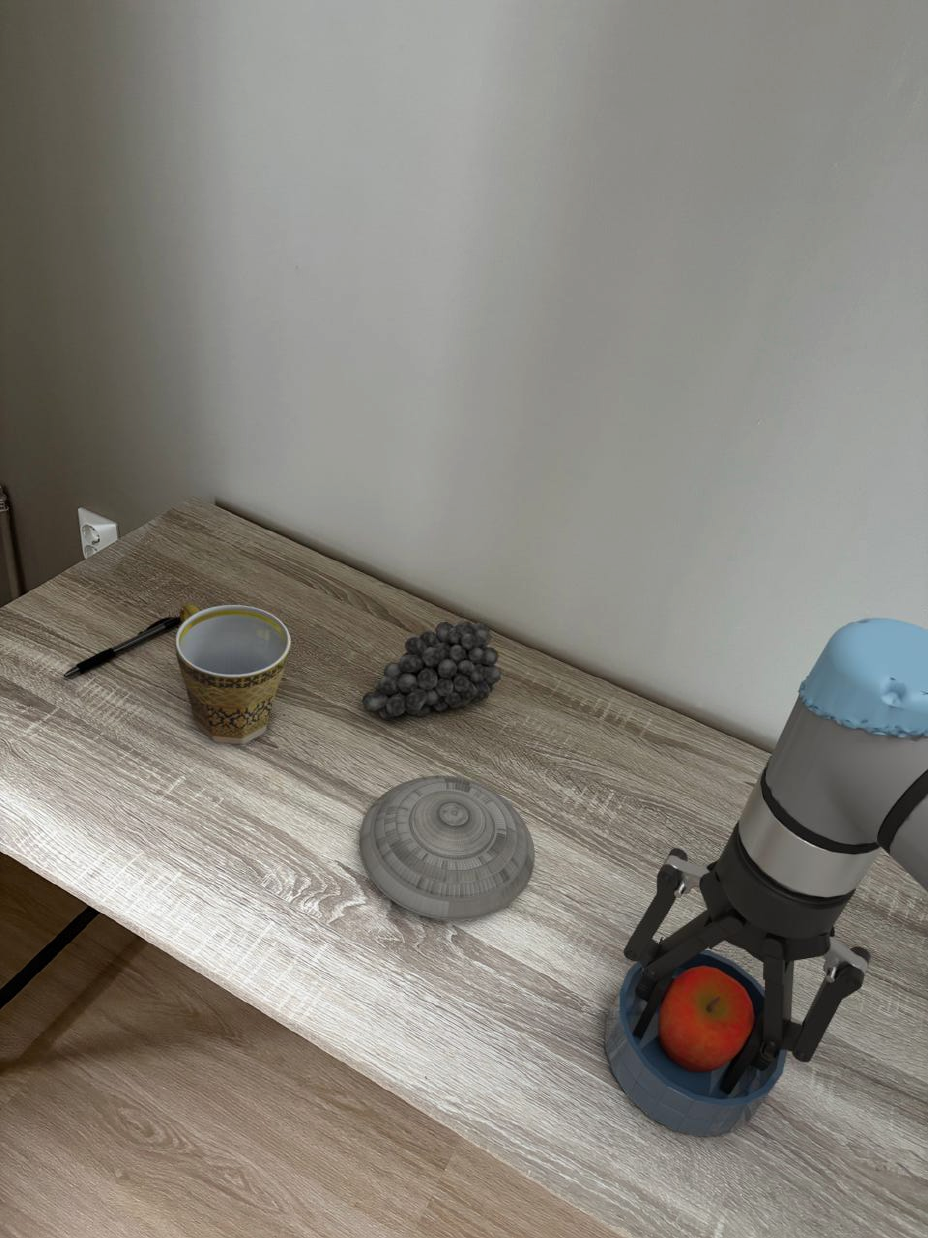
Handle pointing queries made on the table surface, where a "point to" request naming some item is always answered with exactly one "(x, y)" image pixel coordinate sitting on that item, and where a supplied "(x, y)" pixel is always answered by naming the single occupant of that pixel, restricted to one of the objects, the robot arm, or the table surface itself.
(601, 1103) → the table surface
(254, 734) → the ceramic cup
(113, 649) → the pen
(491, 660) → the fruit
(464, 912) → the flying saucer
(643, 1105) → the bowl
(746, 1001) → the apple
